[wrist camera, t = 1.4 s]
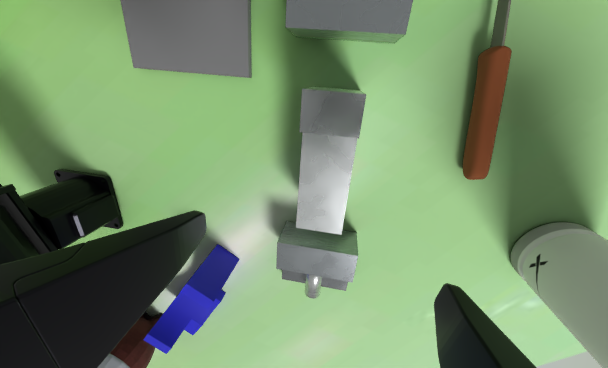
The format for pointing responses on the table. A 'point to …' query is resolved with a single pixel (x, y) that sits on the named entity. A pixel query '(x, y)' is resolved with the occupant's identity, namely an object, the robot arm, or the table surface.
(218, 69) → the mat
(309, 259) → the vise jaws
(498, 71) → the kitchen knife
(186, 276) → the table surface
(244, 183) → the table surface
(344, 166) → the steel bar
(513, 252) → the travel mug
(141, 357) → the mate gourd
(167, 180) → the table surface
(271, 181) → the table surface
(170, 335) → the blue stepped block
